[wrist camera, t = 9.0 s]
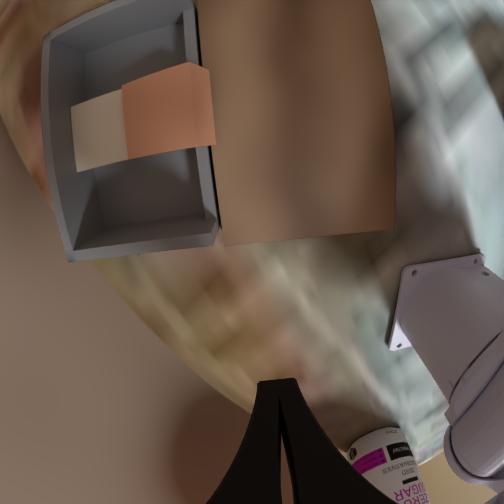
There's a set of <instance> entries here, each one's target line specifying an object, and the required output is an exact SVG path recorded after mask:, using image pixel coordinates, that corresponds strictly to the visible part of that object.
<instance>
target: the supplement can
mask: <svg viewBox="0 0 504 504" xmlns="http://www.w3.org/2000/svg"><path fill="white" fill-rule="evenodd" d="M347 457H348V461H349V463H350V464H351V465H352V466H353V467H354V468H355V469H356V470H357V471H358V472H359V473H360V474H361V475H362V476H363V477H364V478H366V479H367V480H368V481H369V482H370V483H371V484H372V485H374V486H375V487H376V488H377V489H378V490H380V491H381V492H382V493H384V494H385V495H386V496H388V497H389V498H391V499H392V500H394V501H395V502H397V503H398V504H431V503H430V500H429V497H428V494H427V491H426V488H425V486H424V483H423V480H422V478H421V475H420V473H419V470H418V467H417V464H416V462H415V459H414V457H413V454H412V452H411V449H410V447H409V444H408V442H407V440H406V437H405V435H404V433H403V431H402V429H398V428H395V427H386V428H382V429H378V430H375V431H373V432H371V433H368V434H366V435H364V436H363V437H361V438H359V439H358V440H357V441H355V442H354V443H353V444H352V446H351V447H350V449H349V450H348V452H347Z"/></svg>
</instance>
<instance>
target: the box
mask: <svg viewBox="0 0 504 504" xmlns="http://www.w3.org/2000/svg"><path fill="white" fill-rule="evenodd" d="M187 62H192V63H194V64H197V65H199V66H201V67H202V56H201V45H200V34H199V22H198V11H197V9H196V7H195V4H194V2H193V0H116V1H113V2H111V3H108V4H106V5H103V6H101V7H99V8H96V9H94V10H92V11H90V12H88V13H85V14H83V15H81V16H79V17H77V18H75V19H73V20H71V21H70V22H68V23H66V24H64V25H62V26H60V27H59V28H57V29H55V30H53V31H52V32H50V33H48V34H47V35H45V36H44V39H43V48H42V61H41V121H42V135H43V145H44V154H45V162H46V168H47V175H48V181H49V187H50V192H51V197H52V202H53V206H54V211H55V215H56V219H57V223H58V227H59V231H60V235H61V238H62V242H63V246H64V249H65V252H66V256H67V259H68V262H75V261H83V260H91V259H100V258H108V257H116V256H125V255H133V254H142V253H151V252H160V251H168V250H177V249H186V248H196V247H205V246H213V244H214V241H215V238H216V235H217V232H218V229H219V226H220V223H221V217H220V210H219V203H218V195H217V188H216V180H215V172H214V165H213V157H212V149H211V146H203V147H197V148H190V149H184V150H178V151H172V152H166V153H161V154H156V155H151V156H145V157H140V158H136V159H131V160H127V161H122V162H118V163H114V164H110V165H106V166H102V167H98V168H94V169H90V170H86V171H81V172H77V168H76V161H75V153H74V144H73V134H72V122H71V107H72V106H75V105H77V104H80V103H82V102H85V101H88V100H90V99H93V98H96V97H99V96H101V95H104V94H107V93H110V92H113V91H116V90H120V89H122V85H124V84H127V83H129V82H131V81H134V80H136V79H139V78H142V77H144V76H147V75H150V74H153V73H155V72H158V71H161V70H164V69H167V68H170V67H174V66H177V65H180V64H183V63H187Z"/></svg>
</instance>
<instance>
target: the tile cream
mask: <svg viewBox="0 0 504 504" xmlns="http://www.w3.org/2000/svg"><path fill="white" fill-rule="evenodd" d="M71 122H72V134H73V144H74V153H75V161H76V168H77V172H81V171H86V170H90V169H94V168H98V167H102V166H106V165H110V164H114V163H118V162H122V161H127V160H128V154H127V146H126V137H125V127H124V116H123V103H122V89H120V90H116V91H113V92H110V93H107V94H104V95H101V96H99V97H96V98H93V99H90V100H88V101H85V102H82V103H80V104H77V105H75V106H72V107H71ZM134 159H136V158H134ZM129 160H131V159H129Z"/></svg>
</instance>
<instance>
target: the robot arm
mask: <svg viewBox="0 0 504 504" xmlns="http://www.w3.org/2000/svg"><path fill="white" fill-rule="evenodd" d="M484 263H485V255H484V254H475V255H470V256H464V257H458V258H453V259H447V260H441V261H435V262H428V263H422V264H416V265H409V266H406V267H405V268H404V269H403V270H402V274H401V281H400V288H399V294H398V300H397V305H396V311H395V316H394V321H393V326H392V330H391V335H390V339H389V343H388V348H389V350H390V351H394V350H398V349H402V348H406V347H410V346H413V348H414V349H415V351H416V352H417V354H418V355H419V357H420V358H421V360H422V361H423V363H424V364H425V366H426V367H427V369H428V370H429V372H430V373H431V375H432V377H433V378H434V380H435V381H436V383H437V385H438V386H439V388H440V389H441V391H442V393H443V394H444V396H445V398H446V399H447V401H448V403H449V404H450V406H449V408H448V410H447V411H446V412H445V416H446V418H447V420H448V422H449V424H450V425H449V426H448V428H447V430H446V432H445V435H444V452H445V456H446V459H447V462H448V464H449V466H450V467H451V469H452V470H453V472H454V473H455V474H456V475H457V476H458V477H459V478H461V479H462V480H464V481H466V482H468V483H471V484H481V485H485V486H488V487H489V488H491V489H492V490H494V491H495V492H497V493H498V494H497V495H496V496H494V497H493V498H492V499H490V500H489V501H488V502H486V503H485V504H504V280H503V279H502V278H500V277H499V276H497V275H496V274H495V273H493V272H492V271H491V270H489V269H488V268H486V267H485V266H484ZM414 270H415V272H414V273H413V274H412V272H413V271H414ZM281 434H282V439H283V444H284V448H285V453H286V458H287V463H288V467H289V472H290V477H291V483H292V490H293V500H294V504H398V503H397V502H395V501H394V500H392V499H391V498H389V497H388V496H386V495H385V494H384V493H382V492H381V491H380V490H378V489H377V488H376V487H375V486H374V485H372V484H371V483H370V482H369V481H368V480H367V479H366V478H364V477H363V476H362V475H361V474H360V473H359V472H358V471H357V470H356V469H355V468H354V467H353V466H352V465H351V464H350V463H349V462H348V461H347V460H346V459H345V458H344V456H343V455H342V454H341V453H340V452H339V451H338V449H337V448H336V447H335V446H334V444H333V443H332V442H331V441H330V439H329V438H328V436H327V435H326V434H325V432H324V431H323V429H322V428H321V427H320V425H319V423H318V422H317V420H316V419H315V417H314V415H313V414H312V412H311V410H310V409H309V407H308V405H307V403H306V401H305V399H304V397H303V395H302V393H301V391H300V388H299V386H298V383H297V380H296V379H295V378H286V379H277V380H267V381H260V382H259V383H257V394H256V399H255V404H254V408H253V412H252V415H251V418H250V421H249V424H248V427H247V431H246V433H245V436H244V438H243V441H242V443H241V445H240V448H239V450H238V452H237V454H236V456H235V458H234V460H233V462H232V464H231V466H230V468H229V470H228V471H227V473H226V475H225V477H224V478H223V480H222V481H221V483H220V485H219V486H218V488H217V489H216V491H215V492H214V494H213V495H212V496H211V498H210V499H209V500H208V502H207V503H206V504H282V496H281Z"/></svg>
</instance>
